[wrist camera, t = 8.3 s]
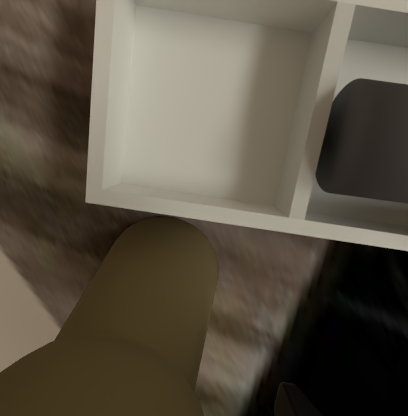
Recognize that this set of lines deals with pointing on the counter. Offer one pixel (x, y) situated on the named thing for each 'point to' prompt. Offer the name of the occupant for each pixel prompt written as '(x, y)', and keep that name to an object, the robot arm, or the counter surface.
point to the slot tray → (237, 110)
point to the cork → (127, 333)
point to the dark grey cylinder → (367, 142)
